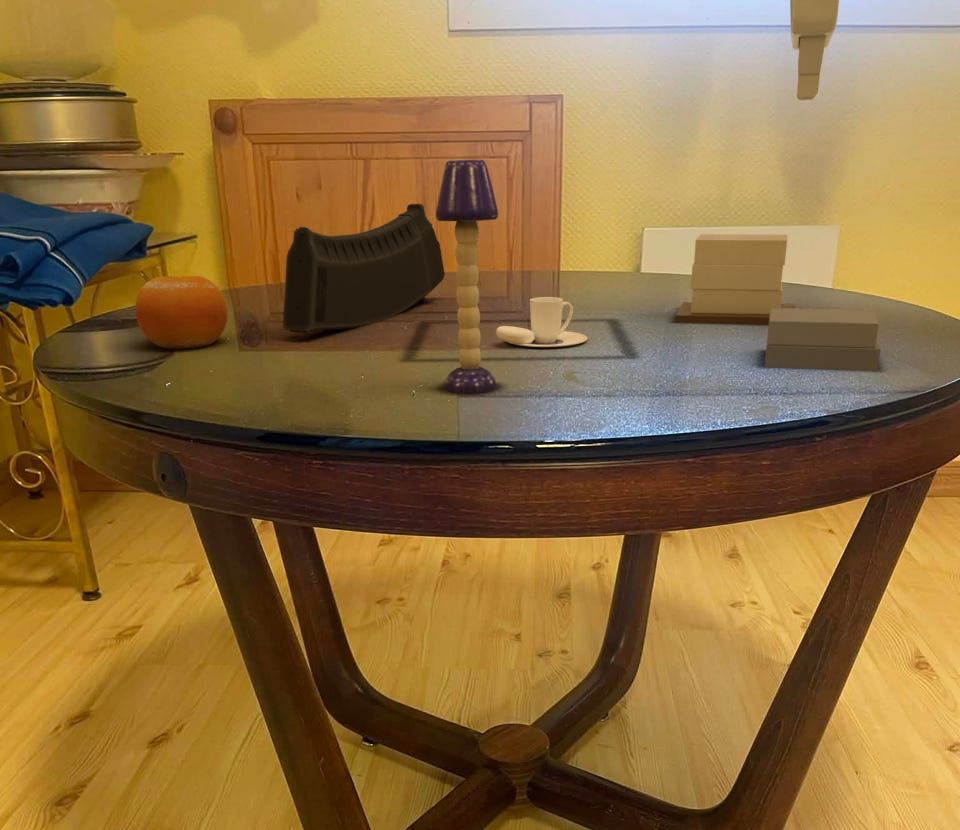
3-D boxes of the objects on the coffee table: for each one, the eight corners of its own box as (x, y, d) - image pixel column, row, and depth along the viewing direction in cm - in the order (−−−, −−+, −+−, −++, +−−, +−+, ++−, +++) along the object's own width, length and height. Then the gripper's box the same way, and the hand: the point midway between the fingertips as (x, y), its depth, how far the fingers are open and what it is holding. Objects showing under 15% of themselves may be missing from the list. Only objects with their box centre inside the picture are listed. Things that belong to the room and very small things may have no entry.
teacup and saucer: (495, 352, 94) (495, 306, 92) (497, 336, 101) (496, 294, 99) (589, 351, 94) (591, 305, 92) (584, 335, 101) (585, 292, 99)
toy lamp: (433, 387, 82) (424, 160, 75) (485, 380, 84) (481, 158, 76) (456, 399, 78) (448, 161, 71) (510, 392, 80) (509, 159, 72)
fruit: (236, 299, 104) (189, 235, 98) (248, 343, 98) (199, 278, 92) (167, 340, 105) (116, 279, 99) (175, 386, 99) (122, 324, 93)
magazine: (288, 250, 93) (424, 140, 113) (258, 249, 95) (398, 140, 114) (331, 413, 105) (448, 288, 124) (305, 410, 106) (425, 287, 125)
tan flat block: (784, 258, 107) (787, 234, 106) (784, 265, 102) (787, 240, 101) (698, 258, 109) (700, 234, 108) (693, 264, 104) (695, 239, 103)
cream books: (793, 313, 110) (799, 257, 108) (793, 327, 103) (800, 267, 100) (682, 311, 113) (686, 256, 111) (674, 324, 106) (678, 266, 103)
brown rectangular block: (870, 357, 89) (878, 309, 87) (876, 373, 83) (884, 323, 81) (765, 353, 91) (770, 307, 90) (764, 369, 85) (769, 321, 84)
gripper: (867, -105, 80) (846, 93, 86) (853, -63, 97) (837, 99, 104) (784, -97, 81) (769, 97, 88) (786, -57, 99) (773, 102, 105)
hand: (806, 98), depth 96 cm, fingers open, 8 cm apart
